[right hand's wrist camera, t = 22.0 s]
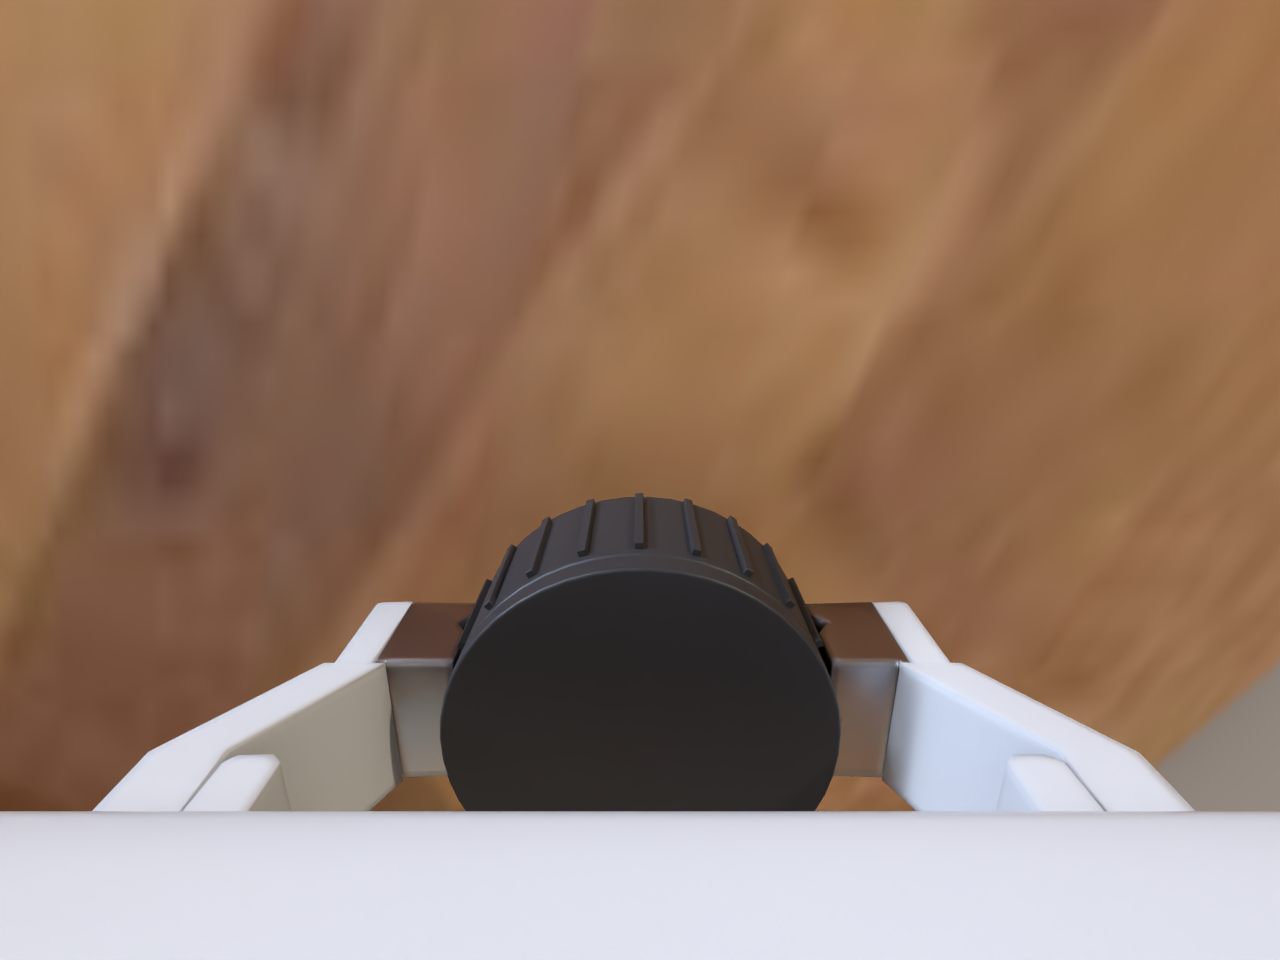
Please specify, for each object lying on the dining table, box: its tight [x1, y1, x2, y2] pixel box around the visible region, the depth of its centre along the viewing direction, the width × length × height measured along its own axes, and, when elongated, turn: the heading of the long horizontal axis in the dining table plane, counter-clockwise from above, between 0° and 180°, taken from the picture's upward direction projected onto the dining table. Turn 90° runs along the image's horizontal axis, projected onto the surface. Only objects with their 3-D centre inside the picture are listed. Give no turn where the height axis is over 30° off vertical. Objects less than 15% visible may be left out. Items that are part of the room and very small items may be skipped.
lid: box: [440, 493, 841, 811], centre depth 9 cm, size 5×5×2 cm
